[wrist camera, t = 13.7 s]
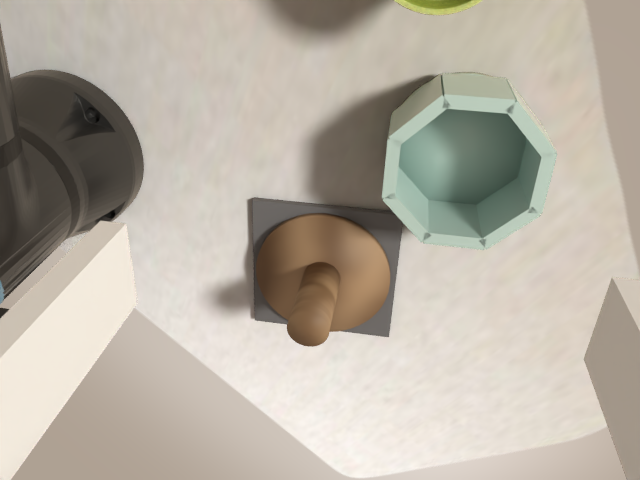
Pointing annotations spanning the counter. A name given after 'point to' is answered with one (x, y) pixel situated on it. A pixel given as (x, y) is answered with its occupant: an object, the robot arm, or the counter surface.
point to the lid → (322, 275)
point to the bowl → (466, 161)
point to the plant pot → (437, 6)
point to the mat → (375, 221)
